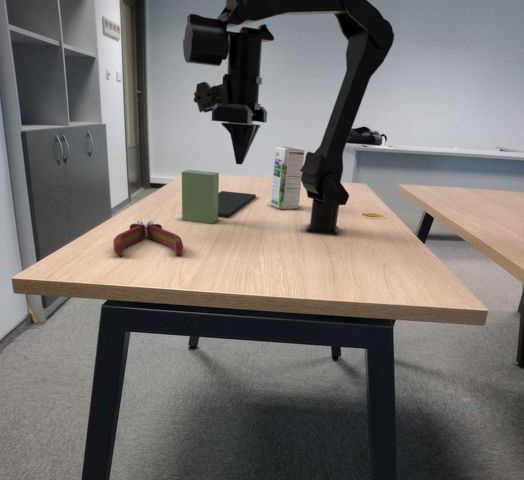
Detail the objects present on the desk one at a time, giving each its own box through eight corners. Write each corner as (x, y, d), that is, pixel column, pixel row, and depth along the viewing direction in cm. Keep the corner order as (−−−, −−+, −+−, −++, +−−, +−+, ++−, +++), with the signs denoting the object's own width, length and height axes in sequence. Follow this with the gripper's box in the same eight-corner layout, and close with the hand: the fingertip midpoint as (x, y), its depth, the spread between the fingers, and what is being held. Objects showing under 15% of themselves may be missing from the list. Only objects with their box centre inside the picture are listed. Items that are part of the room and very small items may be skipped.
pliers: (173, 227, 96) (173, 214, 95) (184, 256, 79) (184, 241, 78) (115, 227, 94) (114, 214, 92) (113, 257, 76) (112, 241, 75)
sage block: (212, 223, 102) (213, 174, 98) (182, 219, 103) (181, 171, 99) (217, 219, 106) (219, 172, 101) (188, 216, 107) (188, 169, 102)
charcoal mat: (227, 217, 108) (228, 214, 108) (186, 213, 110) (186, 209, 109) (255, 197, 134) (255, 194, 134) (221, 193, 136) (222, 190, 136)
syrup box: (269, 205, 125) (274, 146, 119) (289, 204, 128) (294, 146, 121) (279, 209, 121) (284, 148, 114) (299, 209, 123) (305, 149, 116)
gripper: (214, 70, 92) (212, 156, 99) (182, 60, 76) (182, 164, 83) (270, 74, 90) (264, 161, 98) (249, 65, 74) (244, 170, 81)
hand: (239, 164), depth 90 cm, fingers closed
